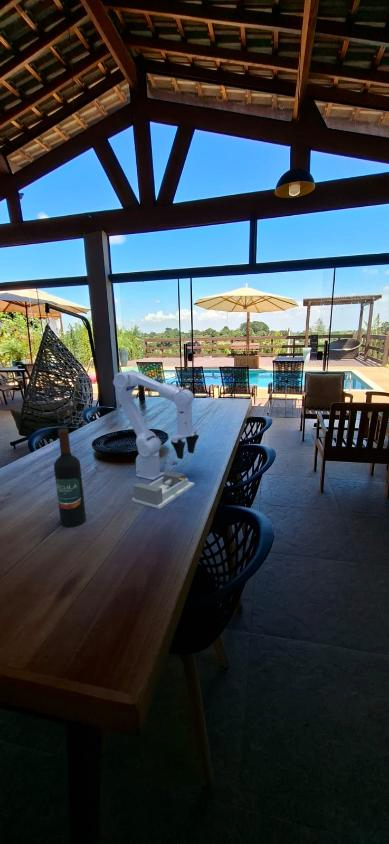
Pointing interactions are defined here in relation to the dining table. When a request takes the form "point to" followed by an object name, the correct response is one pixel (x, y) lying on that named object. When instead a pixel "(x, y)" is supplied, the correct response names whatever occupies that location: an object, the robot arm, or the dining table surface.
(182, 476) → the block with orange peg
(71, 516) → the wine bottle
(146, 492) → the gauge frame
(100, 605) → the dining table surface
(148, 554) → the dining table surface
